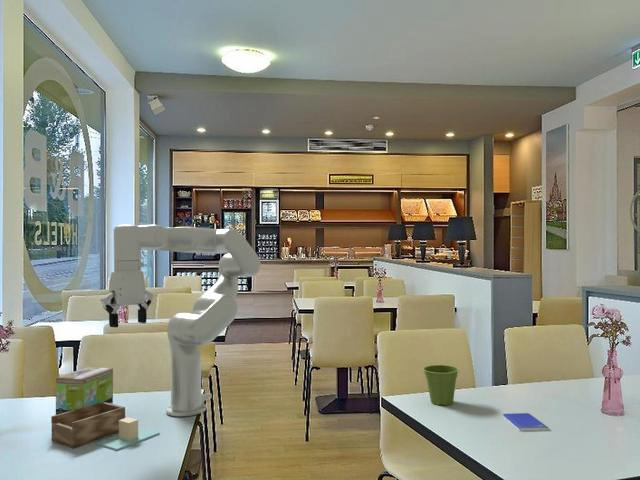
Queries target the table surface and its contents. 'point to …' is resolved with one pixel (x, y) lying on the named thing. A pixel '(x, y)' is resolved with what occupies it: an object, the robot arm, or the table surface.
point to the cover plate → (125, 443)
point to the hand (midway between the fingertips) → (128, 324)
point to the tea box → (83, 388)
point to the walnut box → (86, 424)
